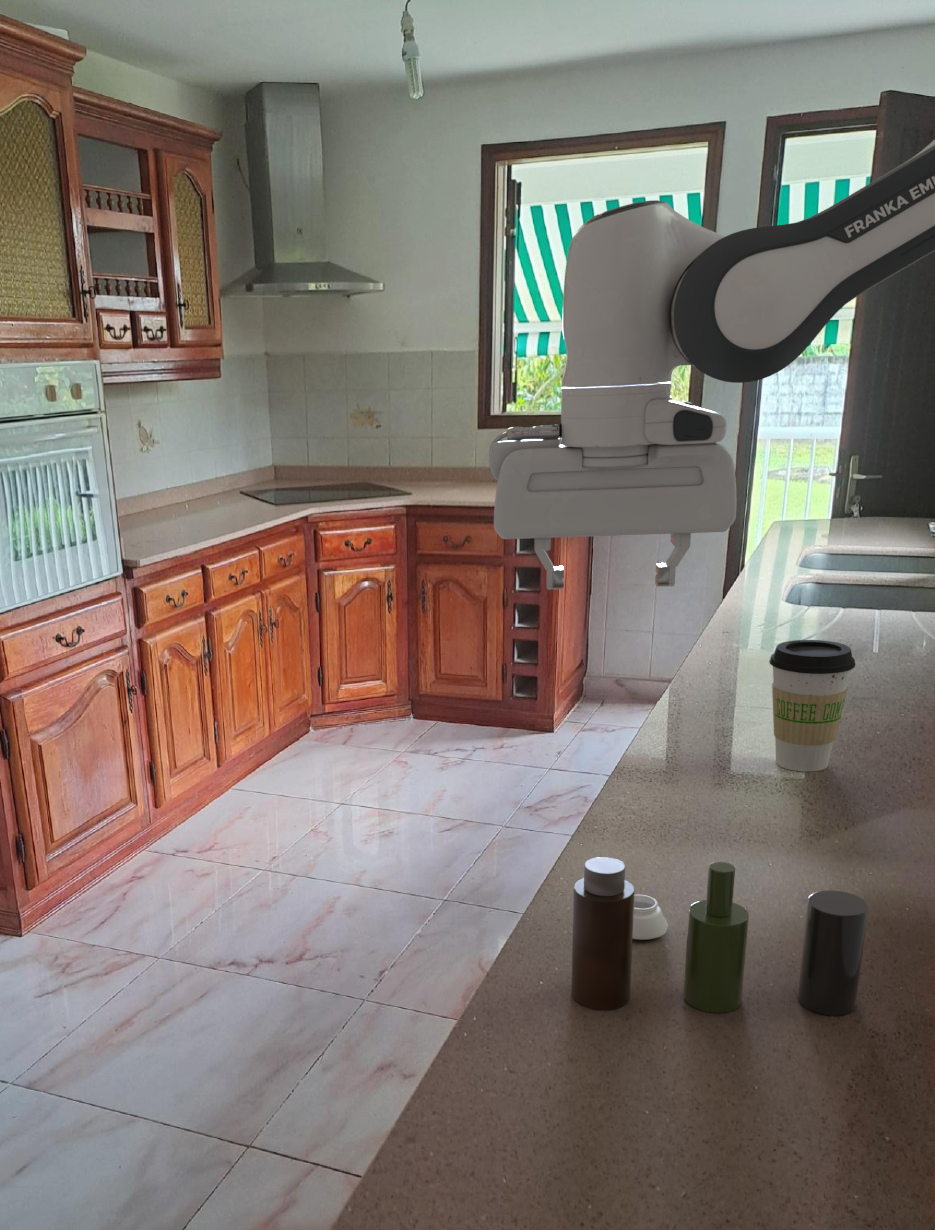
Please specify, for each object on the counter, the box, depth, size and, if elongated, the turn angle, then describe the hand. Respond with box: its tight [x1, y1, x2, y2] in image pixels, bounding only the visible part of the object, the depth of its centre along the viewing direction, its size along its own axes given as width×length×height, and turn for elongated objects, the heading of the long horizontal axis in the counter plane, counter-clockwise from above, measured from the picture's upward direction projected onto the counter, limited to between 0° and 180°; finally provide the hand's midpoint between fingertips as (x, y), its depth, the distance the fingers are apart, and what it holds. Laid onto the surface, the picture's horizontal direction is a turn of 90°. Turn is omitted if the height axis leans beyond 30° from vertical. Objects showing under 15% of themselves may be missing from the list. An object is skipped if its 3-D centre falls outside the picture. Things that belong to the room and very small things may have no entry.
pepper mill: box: [570, 856, 636, 1011], centre depth 92 cm, size 5×5×12 cm
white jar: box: [632, 894, 669, 941], centre depth 104 cm, size 5×3×5 cm
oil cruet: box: [682, 861, 750, 1014], centre depth 91 cm, size 5×5×12 cm
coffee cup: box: [768, 639, 856, 773], centre depth 140 cm, size 10×10×15 cm
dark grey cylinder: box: [797, 890, 870, 1017], centre depth 90 cm, size 4×4×9 cm
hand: (609, 586), depth 98 cm, fingers open, 8 cm apart
